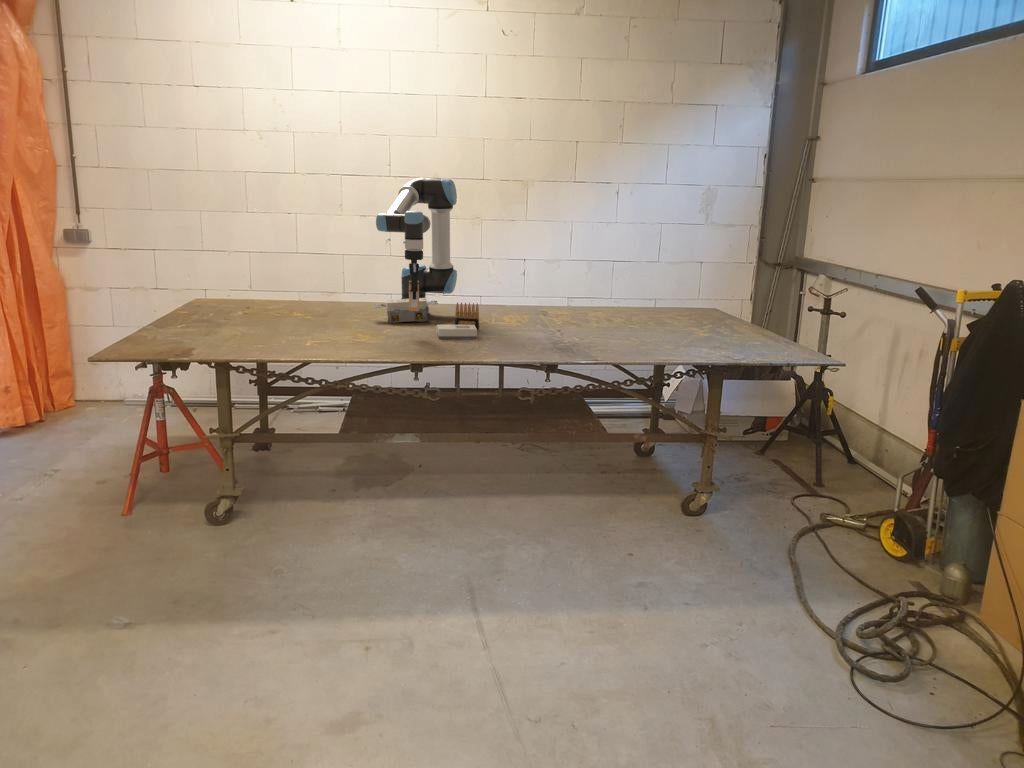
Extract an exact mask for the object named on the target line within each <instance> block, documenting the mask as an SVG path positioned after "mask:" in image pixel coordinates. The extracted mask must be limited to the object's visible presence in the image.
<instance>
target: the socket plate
mask: <svg viewBox="0 0 1024 768" xmlns="http://www.w3.org/2000/svg"><path fill="white" fill-rule="evenodd" d="M436 334H437V338H438V339H439V340H440V339H441V340H442V339H446V340H447V339H450V340H453V339H458V340H459V339H460V340H461V339H462V340H466V339H469V340H470V339H473V340H474V339H475V340H477V338H478V330H477V329H476V327H475V325H455V324H436Z"/></svg>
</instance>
